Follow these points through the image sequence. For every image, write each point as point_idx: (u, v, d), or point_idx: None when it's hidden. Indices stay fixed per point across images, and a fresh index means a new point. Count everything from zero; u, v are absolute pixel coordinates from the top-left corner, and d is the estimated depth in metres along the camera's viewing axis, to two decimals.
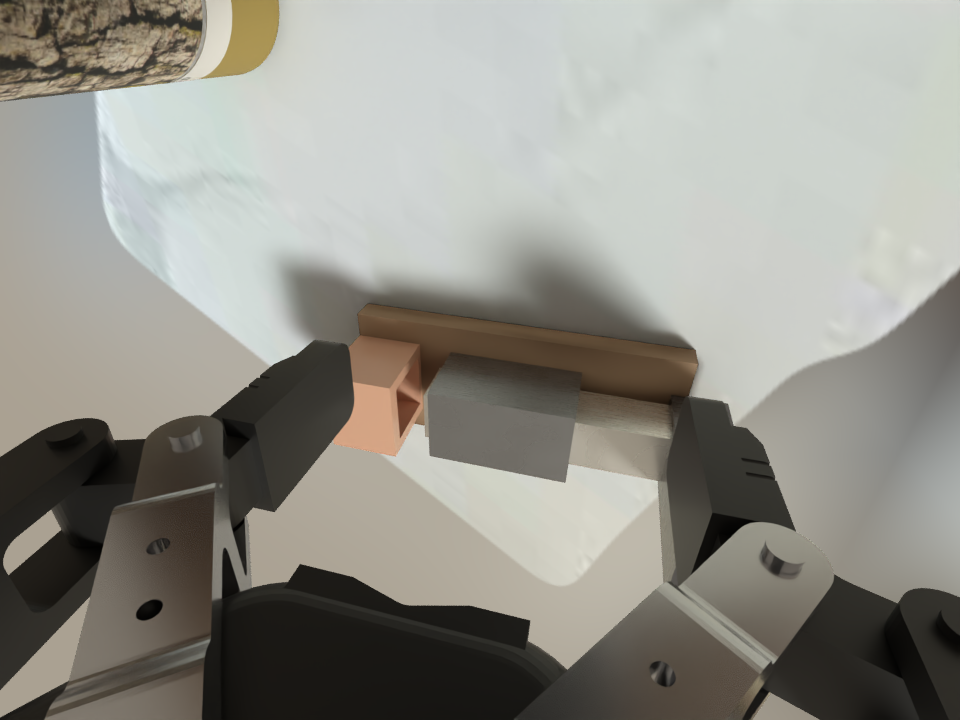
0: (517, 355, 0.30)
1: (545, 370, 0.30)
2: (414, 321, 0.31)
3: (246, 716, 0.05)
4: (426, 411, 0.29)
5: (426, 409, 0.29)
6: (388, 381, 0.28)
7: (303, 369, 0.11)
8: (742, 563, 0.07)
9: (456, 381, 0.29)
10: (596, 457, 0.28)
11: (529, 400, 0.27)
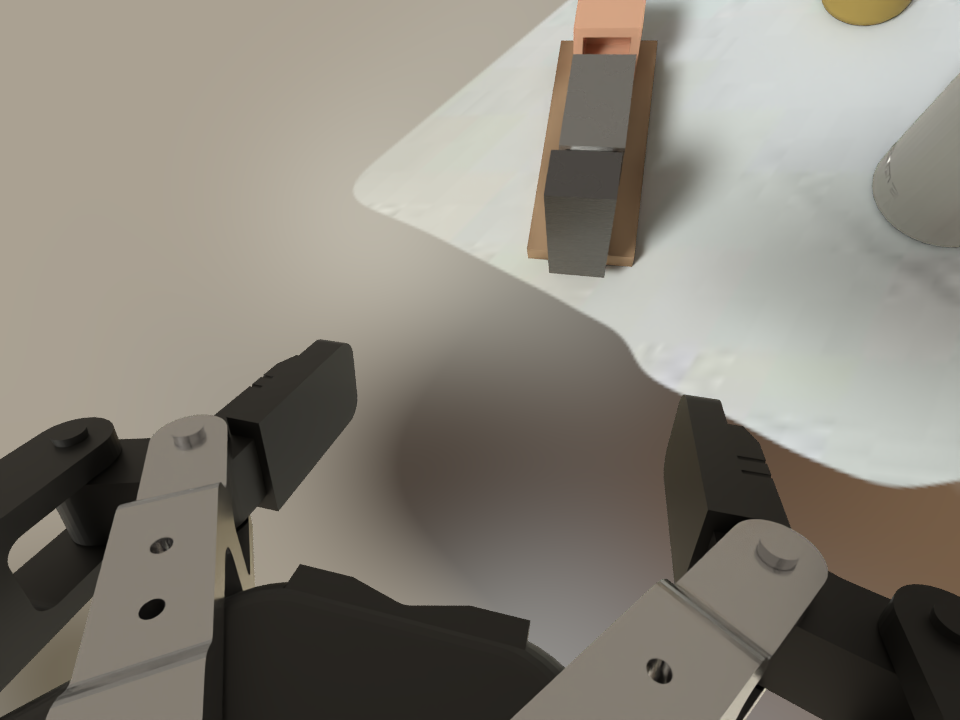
0: (630, 143, 0.40)
1: None
2: (653, 77, 0.42)
3: (246, 716, 0.05)
4: None
5: None
6: (641, 31, 0.38)
7: (306, 368, 0.11)
8: (737, 560, 0.07)
9: None
10: None
11: None
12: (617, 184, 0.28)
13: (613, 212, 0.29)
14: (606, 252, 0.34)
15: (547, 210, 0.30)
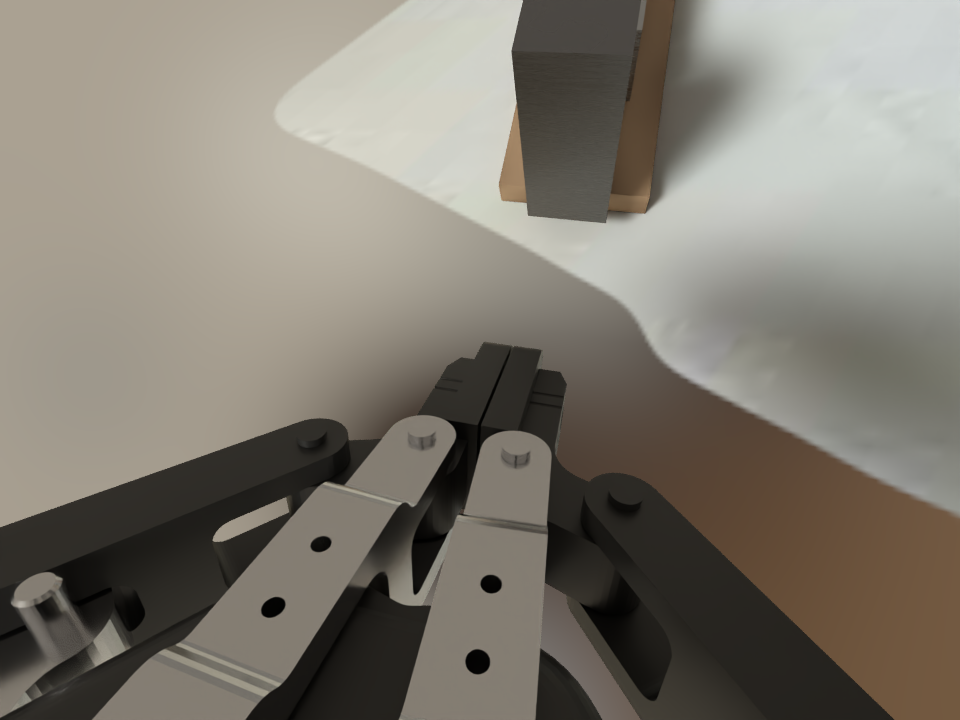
0: (646, 46, 0.29)
1: None
2: None
3: None
4: None
5: None
6: None
7: (490, 371, 0.11)
8: (479, 456, 0.09)
9: None
10: None
11: None
12: (634, 32, 0.17)
13: (625, 86, 0.18)
14: (611, 174, 0.22)
15: (519, 86, 0.19)
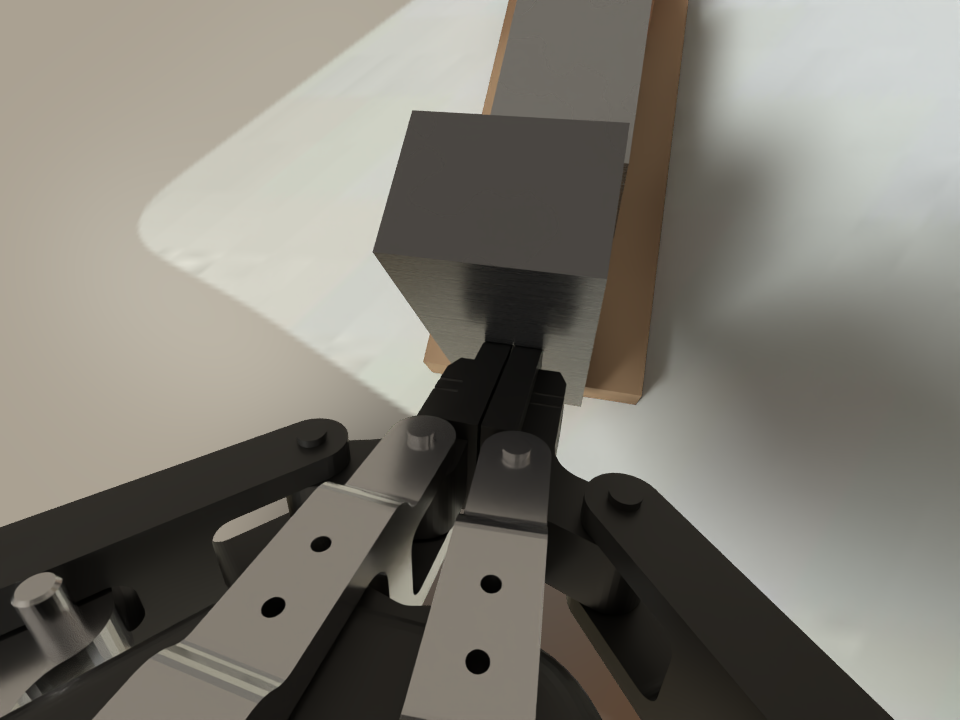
0: (638, 153, 0.21)
1: None
2: (684, 31, 0.22)
3: None
4: None
5: None
6: None
7: (490, 371, 0.11)
8: (479, 456, 0.09)
9: None
10: None
11: None
12: (610, 225, 0.08)
13: (596, 309, 0.09)
14: (582, 377, 0.14)
15: (406, 289, 0.10)
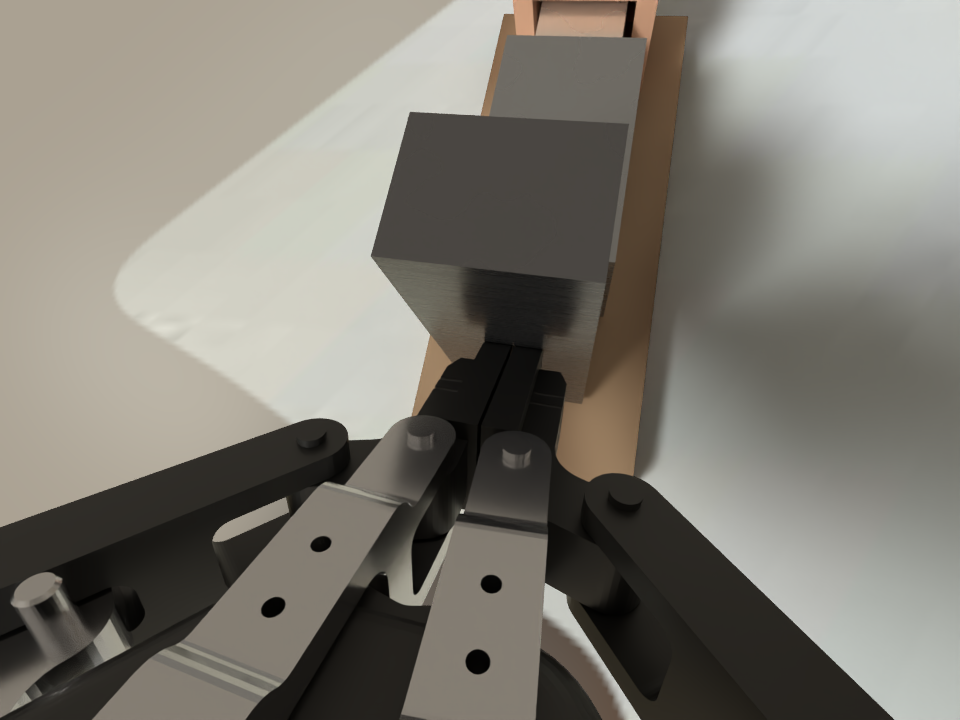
0: (630, 224, 0.20)
1: None
2: None
3: None
4: None
5: None
6: None
7: (490, 371, 0.11)
8: (479, 456, 0.09)
9: None
10: None
11: None
12: (609, 229, 0.08)
13: (596, 311, 0.09)
14: (583, 376, 0.14)
15: (405, 292, 0.10)
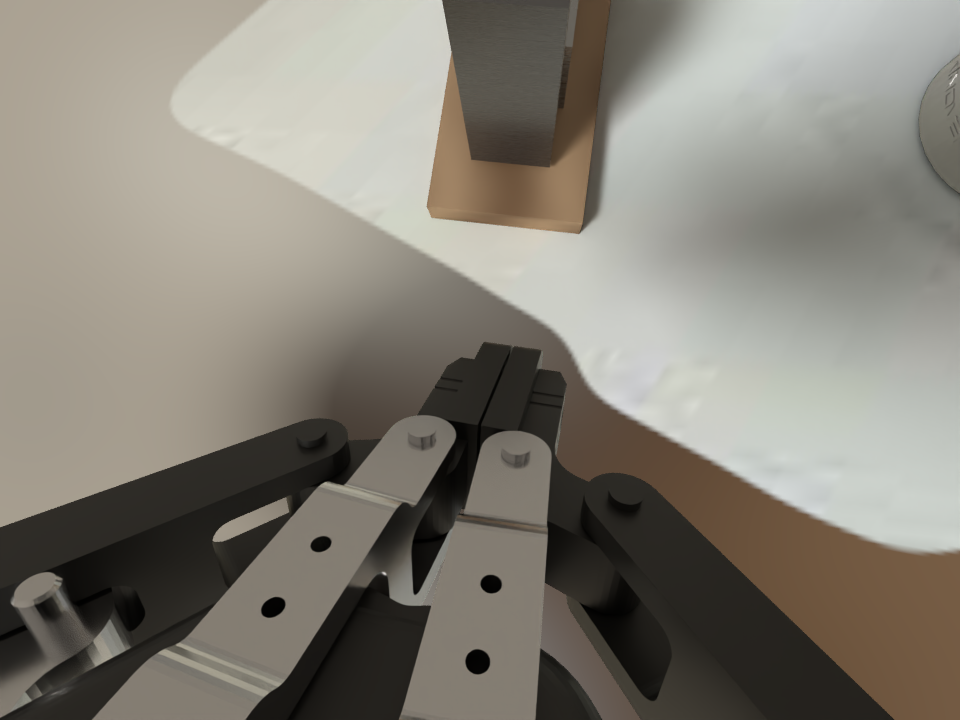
0: (582, 40, 0.27)
1: None
2: None
3: None
4: None
5: None
6: None
7: (490, 371, 0.11)
8: (479, 456, 0.09)
9: None
10: None
11: None
12: None
13: (563, 38, 0.17)
14: (552, 122, 0.22)
15: (453, 35, 0.18)
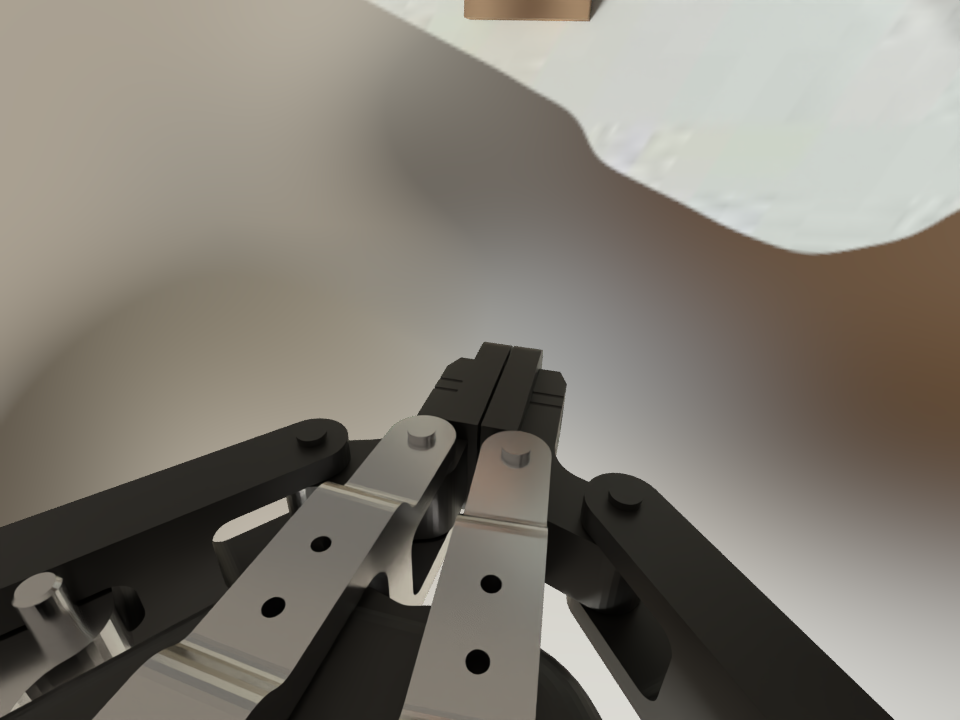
0: None
1: None
2: None
3: None
4: None
5: None
6: None
7: (490, 371, 0.11)
8: (479, 456, 0.09)
9: None
10: None
11: None
12: None
13: None
14: None
15: None
